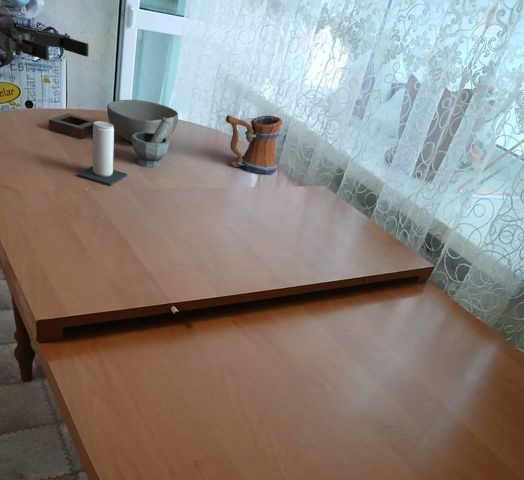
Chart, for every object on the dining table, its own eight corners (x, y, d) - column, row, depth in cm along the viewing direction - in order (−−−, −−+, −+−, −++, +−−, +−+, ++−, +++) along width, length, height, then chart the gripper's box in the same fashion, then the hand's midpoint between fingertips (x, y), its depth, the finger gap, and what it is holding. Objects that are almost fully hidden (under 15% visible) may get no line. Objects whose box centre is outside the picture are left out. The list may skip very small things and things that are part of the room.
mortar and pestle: (146, 171, 145) (149, 125, 138) (124, 159, 149) (125, 113, 142) (177, 166, 153) (182, 122, 146) (155, 155, 157) (158, 111, 150)
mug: (226, 173, 155) (234, 119, 147) (213, 159, 163) (220, 107, 155) (282, 176, 163) (293, 124, 154) (267, 162, 171) (276, 112, 162)
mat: (76, 176, 134) (76, 173, 133) (95, 166, 141) (95, 164, 140) (110, 186, 133) (110, 183, 132) (127, 175, 140) (127, 173, 140)
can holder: (49, 130, 157) (48, 119, 155) (68, 123, 165) (68, 113, 163) (81, 139, 155) (81, 128, 154) (99, 132, 164) (99, 121, 162)
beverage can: (113, 178, 135) (115, 128, 128) (93, 176, 134) (93, 126, 127) (111, 171, 139) (113, 122, 132) (92, 169, 137) (92, 120, 130)
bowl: (150, 129, 175) (152, 96, 169) (188, 151, 165) (192, 117, 159) (93, 132, 162) (93, 96, 157) (130, 156, 152) (132, 119, 146)
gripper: (32, 44, 140) (101, 65, 136) (-48, 49, 121) (29, 74, 116) (31, 11, 136) (102, 31, 131) (-53, 10, 116) (27, 34, 112)
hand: (68, 51), depth 124 cm, fingers open, 13 cm apart
